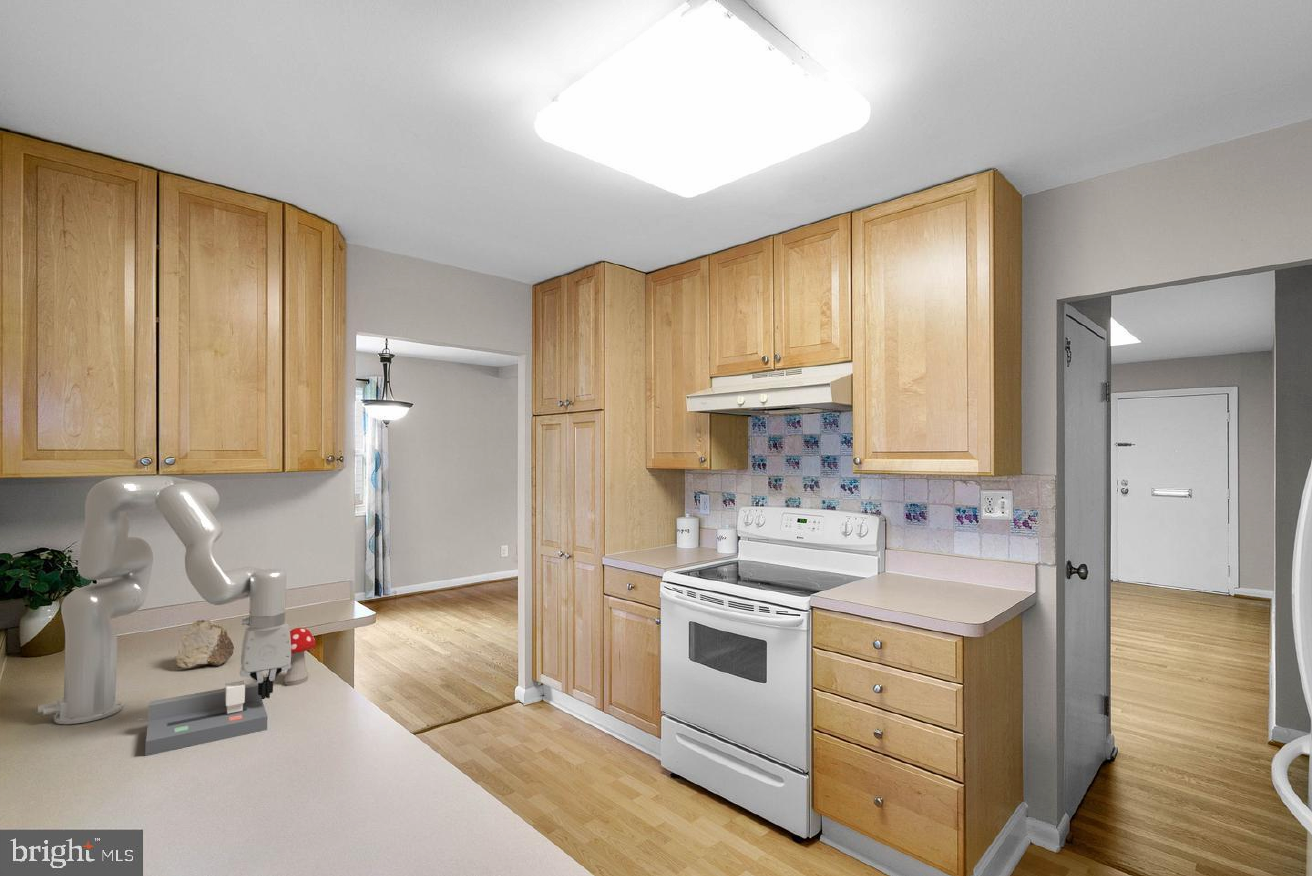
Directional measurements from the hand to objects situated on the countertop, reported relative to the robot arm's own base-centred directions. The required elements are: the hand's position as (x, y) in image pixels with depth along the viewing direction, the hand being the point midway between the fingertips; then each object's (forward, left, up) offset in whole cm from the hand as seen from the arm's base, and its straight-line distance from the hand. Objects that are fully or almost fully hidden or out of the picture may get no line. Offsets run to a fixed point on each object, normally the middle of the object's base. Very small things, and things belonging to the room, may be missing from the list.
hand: (265, 696), depth 152 cm
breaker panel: (-11, 0, -5) cm, 12 cm away
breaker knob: (-6, 0, -2) cm, 6 cm away
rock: (-10, +56, -5) cm, 57 cm away
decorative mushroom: (+10, +24, -5) cm, 26 cm away
